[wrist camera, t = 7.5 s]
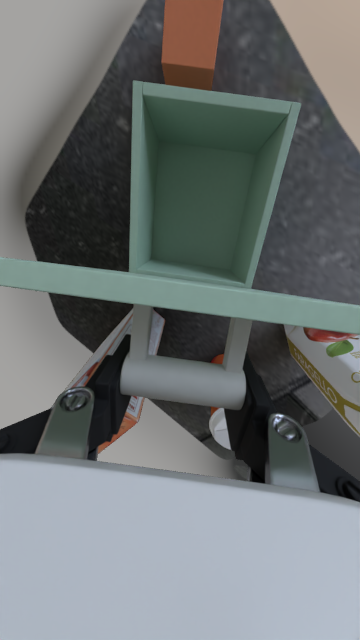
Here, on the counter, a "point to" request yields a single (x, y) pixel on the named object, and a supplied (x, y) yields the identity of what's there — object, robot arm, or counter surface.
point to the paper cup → (219, 418)
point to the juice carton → (330, 367)
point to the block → (190, 42)
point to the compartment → (204, 181)
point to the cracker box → (108, 349)
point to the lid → (153, 291)
